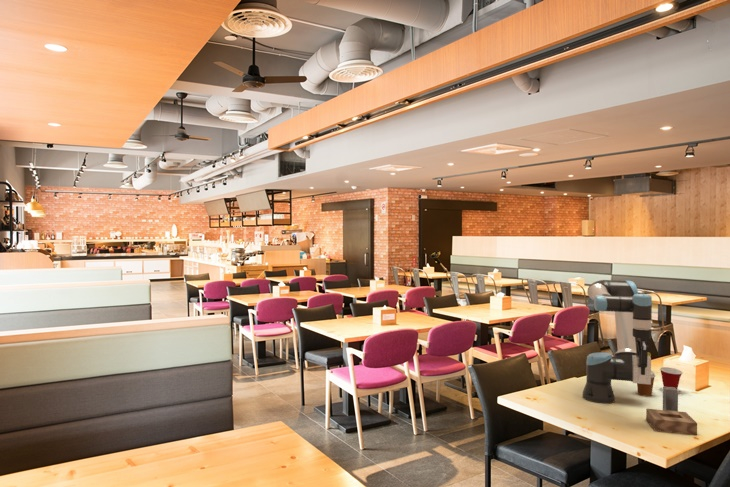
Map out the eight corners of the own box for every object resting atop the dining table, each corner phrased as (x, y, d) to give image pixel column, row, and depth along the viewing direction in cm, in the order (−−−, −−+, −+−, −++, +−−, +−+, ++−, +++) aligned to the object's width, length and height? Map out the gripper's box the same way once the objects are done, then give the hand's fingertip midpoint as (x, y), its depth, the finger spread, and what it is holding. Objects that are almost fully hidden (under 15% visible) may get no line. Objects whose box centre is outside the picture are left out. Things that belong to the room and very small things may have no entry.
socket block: (654, 430, 215) (654, 419, 215) (646, 419, 229) (646, 408, 229) (697, 435, 211) (697, 423, 211) (685, 423, 224) (686, 412, 224)
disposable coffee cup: (635, 395, 263) (636, 373, 263) (633, 390, 272) (633, 368, 272) (656, 398, 260) (656, 375, 259) (653, 392, 268) (653, 370, 268)
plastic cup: (673, 395, 264) (674, 373, 264) (654, 389, 274) (655, 368, 274) (687, 393, 268) (687, 370, 268) (668, 387, 278) (668, 366, 278)
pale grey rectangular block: (633, 383, 225) (633, 356, 225) (632, 381, 228) (632, 355, 228) (650, 384, 223) (651, 357, 223) (649, 382, 226) (649, 356, 226)
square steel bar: (665, 414, 235) (666, 389, 235) (662, 411, 240) (662, 386, 240) (677, 415, 234) (678, 390, 234) (674, 412, 239) (674, 387, 238)
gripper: (655, 332, 216) (655, 386, 216) (647, 326, 232) (646, 376, 232) (636, 330, 219) (635, 384, 219) (629, 325, 234) (628, 375, 234)
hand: (641, 380), depth 225 cm, fingers closed on pale grey rectangular block, 3 cm apart
